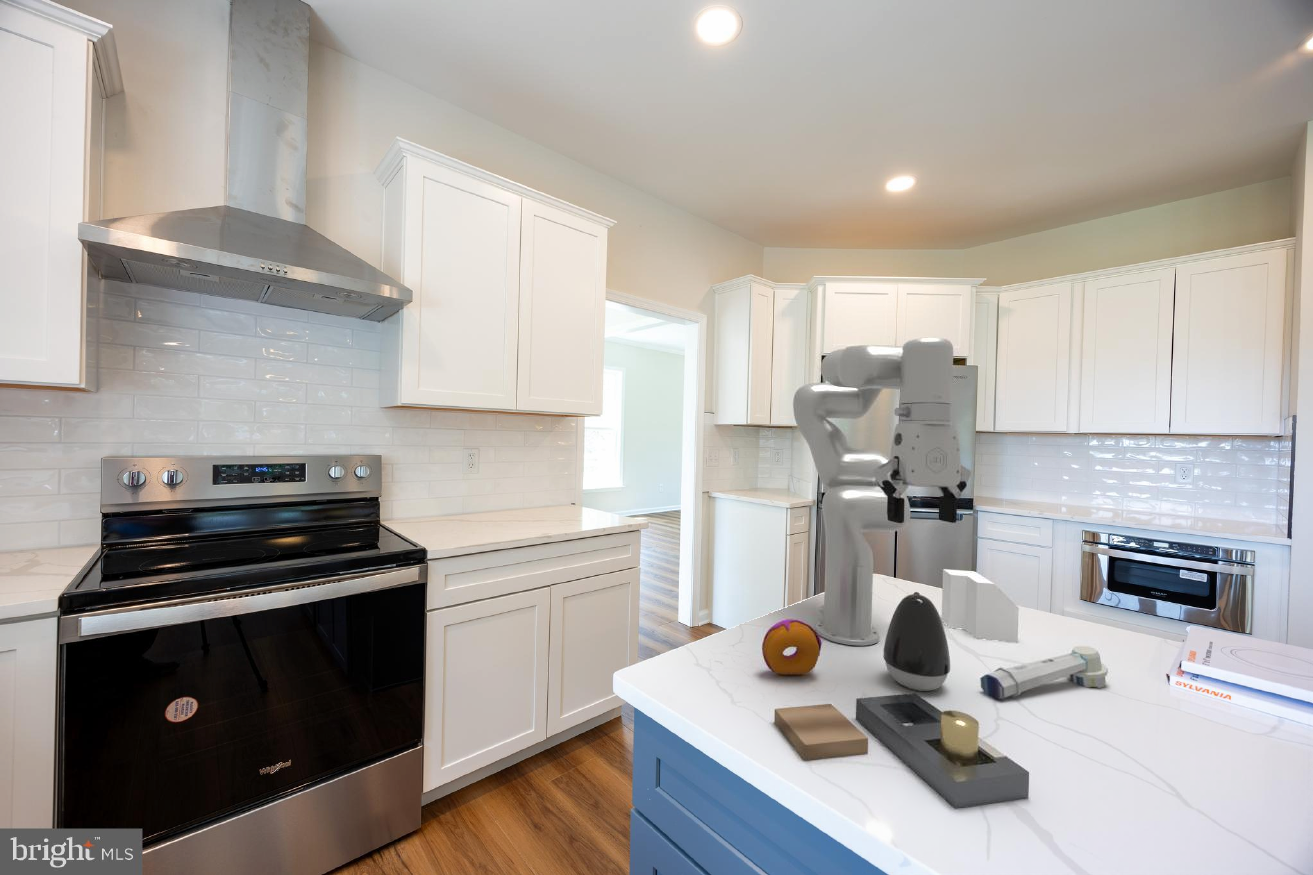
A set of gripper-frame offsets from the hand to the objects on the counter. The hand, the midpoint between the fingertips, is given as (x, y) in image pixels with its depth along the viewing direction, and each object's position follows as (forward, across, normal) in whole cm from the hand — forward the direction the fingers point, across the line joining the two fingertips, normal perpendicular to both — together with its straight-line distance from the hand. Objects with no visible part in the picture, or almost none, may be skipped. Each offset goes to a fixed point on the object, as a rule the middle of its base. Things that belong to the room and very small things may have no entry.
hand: (921, 521), depth 85 cm
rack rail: (+28, -9, -14) cm, 33 cm away
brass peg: (+28, -9, -18) cm, 35 cm away
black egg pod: (+28, +3, +4) cm, 29 cm away
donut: (+28, -17, +10) cm, 35 cm away
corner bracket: (+29, +35, +24) cm, 51 cm away
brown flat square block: (+28, -22, -8) cm, 37 cm away
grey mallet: (+29, +24, -1) cm, 38 cm away
